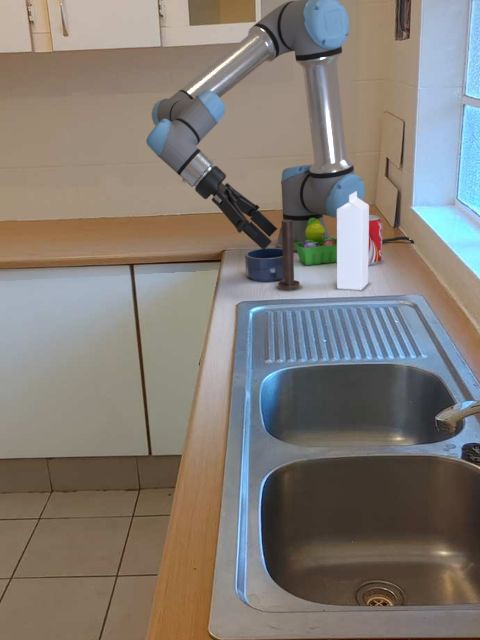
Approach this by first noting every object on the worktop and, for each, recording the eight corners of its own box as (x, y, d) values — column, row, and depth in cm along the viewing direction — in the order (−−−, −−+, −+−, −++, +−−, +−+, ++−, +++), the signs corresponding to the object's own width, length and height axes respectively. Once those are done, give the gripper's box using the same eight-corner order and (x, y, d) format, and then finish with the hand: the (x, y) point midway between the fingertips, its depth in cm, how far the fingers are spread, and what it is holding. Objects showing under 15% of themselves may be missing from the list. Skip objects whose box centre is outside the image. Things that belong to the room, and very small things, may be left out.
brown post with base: (295, 283, 185) (293, 217, 179) (302, 288, 180) (301, 221, 174) (275, 286, 184) (272, 220, 177) (282, 291, 179) (280, 224, 173)
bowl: (281, 268, 199) (280, 245, 196) (297, 278, 189) (297, 255, 186) (240, 273, 196) (239, 251, 194) (254, 284, 186) (253, 261, 183)
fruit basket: (303, 267, 198) (302, 224, 194) (292, 259, 206) (291, 218, 202) (343, 262, 201) (343, 220, 196) (332, 255, 209) (331, 214, 204)
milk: (336, 289, 179) (335, 195, 170) (344, 281, 184) (343, 190, 175) (361, 290, 176) (362, 195, 168) (368, 283, 181) (369, 190, 173)
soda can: (379, 266, 195) (380, 220, 190) (352, 265, 197) (352, 219, 193) (383, 259, 201) (384, 214, 196) (357, 258, 203) (358, 214, 199)
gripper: (203, 180, 187) (265, 238, 191) (182, 197, 165) (253, 263, 168) (223, 157, 184) (285, 216, 188) (204, 172, 162) (276, 239, 165)
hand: (270, 239), depth 178 cm, fingers open, 13 cm apart
